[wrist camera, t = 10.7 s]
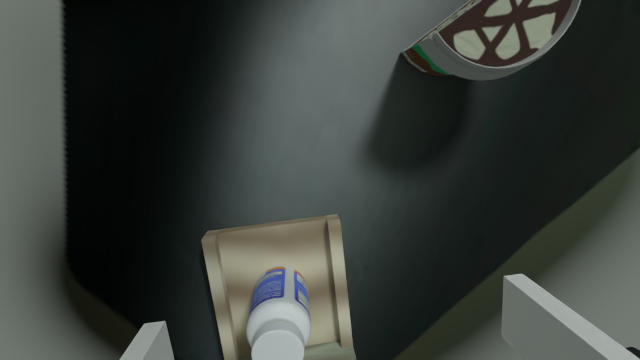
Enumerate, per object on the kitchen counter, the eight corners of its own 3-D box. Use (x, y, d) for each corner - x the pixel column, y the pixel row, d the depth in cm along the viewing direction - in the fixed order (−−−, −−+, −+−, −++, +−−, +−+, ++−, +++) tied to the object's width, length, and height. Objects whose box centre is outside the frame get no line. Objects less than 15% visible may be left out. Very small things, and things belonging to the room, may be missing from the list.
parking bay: (207, 231, 33) (196, 246, 29) (336, 214, 34) (342, 226, 30) (231, 359, 36) (224, 388, 32) (350, 340, 37) (356, 367, 33)
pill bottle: (249, 303, 34) (230, 377, 24) (263, 257, 33) (251, 314, 23) (298, 316, 34) (300, 393, 25) (314, 271, 33) (322, 332, 24)
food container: (420, 114, 32) (476, 113, 23) (387, 62, 31) (430, 37, 21) (522, 39, 32) (623, 4, 22) (491, -17, 31) (585, -81, 21)
